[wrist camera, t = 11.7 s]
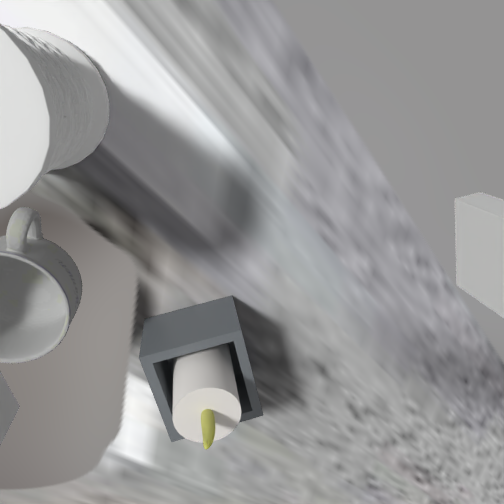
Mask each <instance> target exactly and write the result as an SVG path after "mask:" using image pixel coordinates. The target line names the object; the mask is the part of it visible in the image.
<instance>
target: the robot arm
mask: <svg viewBox="0 0 504 504" xmlns="http://www.w3.org/2000/svg"><path fill="white" fill-rule="evenodd" d="M455 235H456V285H457V286H458V287H460V288H461V289H463V290H464V291H465V292H467V293H468V294H470V295H471V296H473V297H474V298H475V299H477V300H478V301H480V302H481V303H483V304H484V305H485V306H487V307H488V308H490V309H491V310H492V311H494V312H495V313H497V314H498V315H500V316H501V317H503V318H504V200H502V199H499V198H496V197H493V196H490V195H488V194H484V193H482V192H479V193H475V194H471V195H468V196H463V197H460V198H456V199H455ZM19 407H20V406H19V404H18V402H17V400H16V398H15V397H14V395H13V393H12V391H11V389H10V388H9V386H8V384H7V382H6V380H5V379H4V377H3V375H2V373H1V371H0V445H1V443H2V441H3V439H4V437H5V435H6V433H7V431H8V429H9V427H10V425H11V423H12V421H13V419H14V417H15V415H16V413H17V411H18V409H19Z"/></svg>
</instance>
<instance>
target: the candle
mask: <svg viewBox="0 0 504 504" xmlns="http://www.w3.org/2000/svg"><path fill="white" fill-rule="evenodd" d="M240 418H241V406H240V401H239V396H238V391H237V386H236V381H235V376H234V371H233V366H232V360H231V355H230V350H229V345H228V343H225V344H221V345H217V346H214V347H210V348H207V349H203V350H199V351H196V352H192V353H189V354H185V355H181V356H178V357H174V358H173V417H172V420H173V424H174V427H175V429H176V430H177V432H178V433H179V434H180V435H182V436H183V437H184V438H186V439H188V440H191V441H195V442H203V446H204V448H205V449H208V448H209V447H210V446H211V445H212V443H213V441H216V440H219V439H221V438H223V437H225V436H227V435H228V434H229V433H231V432H232V431H233V430H234V429H235V428H236V426H237V425H238V423H239V421H240Z"/></svg>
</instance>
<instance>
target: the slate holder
mask: <svg viewBox="0 0 504 504" xmlns="http://www.w3.org/2000/svg"><path fill="white" fill-rule="evenodd" d="M225 343H228V345H229V350H230V355H231V360H232V366H233V371H234V376H235V381H236V386H237V391H238V396H239V401H240V406H241V418H240V421H239V422H242V421H246V420H249V419H253V418H256V417H259V416H263V412H262V408H261V404H260V400H259V396H258V392H257V388H256V385H255V381H254V377H253V373H252V369H251V365H250V361H249V358H248V354H247V350H246V346H245V342H244V338H243V335H242V331H241V327H240V323H239V319H238V316H237V312H236V308H235V304H234V300H233V297H232V296H228V297H225V298H221V299H217V300H213V301H210V302H206V303H202V304H199V305H195V306H191V307H187V308H184V309H180V310H176V311H172V312H169V313H165V314H161V315H157V316H154V317H150V318H146V319H145V320H144V327H143V334H142V341H141V348H140V355H139V359H140V362H141V364H142V367H143V370H144V372H145V375H146V377H147V380H148V382H149V385H150V388H151V390H152V393H153V395H154V398H155V401H156V403H157V406H158V408H159V411H160V414H161V416H162V419H163V421H164V424H165V426H166V429H167V432H168V434H169V437H170V439H171V442H174V441H177V440H180V439H184V437H183V436H182V435H180V434H179V433H178V432H177V430H176V429H175V427H174V424H173V420H172V417H173V358H174V357H178V356H181V355H185V354H189V353H192V352H196V351H199V350H203V349H207V348H210V347H214V346H217V345H221V344H225Z"/></svg>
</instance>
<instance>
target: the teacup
mask: <svg viewBox="0 0 504 504" xmlns="http://www.w3.org/2000/svg"><path fill="white" fill-rule="evenodd" d="M81 295H82V281H81V276H80V273H79V270H78V268H77V266H76V264H75V262H74V261H73V260H72V258H71V257H70V256H69V255H68V254H67V253H66V252H65V251H64V250H63V249H62V248H61V247H59V246H58V245H56V244H55V243H53V242H51V241H49V240H47V239H44V238H43V234H42V232H41V217H40V214H39V212H38V211H36V210H34V209H32V208H26V207H21V208H18V209H17V210H16V211H15V212H14V213H13V215H12V217H11V218H10V221H9V224H8V227H7V233H6V235H5V236H1V237H0V362H2V363H23V362H28V361H32V360H35V359H37V358H40V357H42V356H44V355H46V354H48V353H49V352H51V351H52V350H53V349H54V348H56V347H57V346H58V345H59V344H60V342H61V341H62V340H63V338H64V337H65V335H66V333H67V331H68V328H69V325H70V323H71V321H72V319H73V317H74V315H75V313H76V311H77V309H78V306H79V303H80V300H81Z"/></svg>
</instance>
